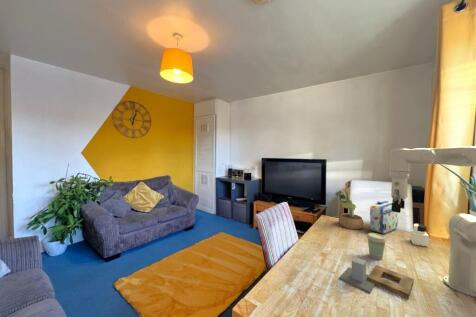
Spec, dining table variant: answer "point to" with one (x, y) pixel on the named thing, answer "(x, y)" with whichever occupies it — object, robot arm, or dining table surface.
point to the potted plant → (349, 219)
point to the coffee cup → (376, 245)
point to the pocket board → (400, 289)
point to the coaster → (364, 286)
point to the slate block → (358, 269)
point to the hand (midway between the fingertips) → (398, 209)
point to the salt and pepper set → (419, 235)
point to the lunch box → (383, 217)
